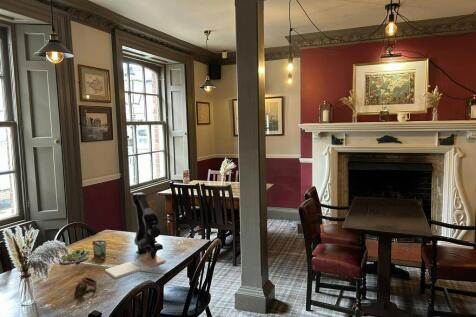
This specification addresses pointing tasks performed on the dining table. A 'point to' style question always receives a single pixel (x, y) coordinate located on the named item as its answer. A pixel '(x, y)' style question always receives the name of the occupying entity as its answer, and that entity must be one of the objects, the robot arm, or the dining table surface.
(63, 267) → the dining table surface
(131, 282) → the dining table surface
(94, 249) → the food container
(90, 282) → the pottery mug
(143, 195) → the robot arm
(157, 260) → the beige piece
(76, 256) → the salad plate
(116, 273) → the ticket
